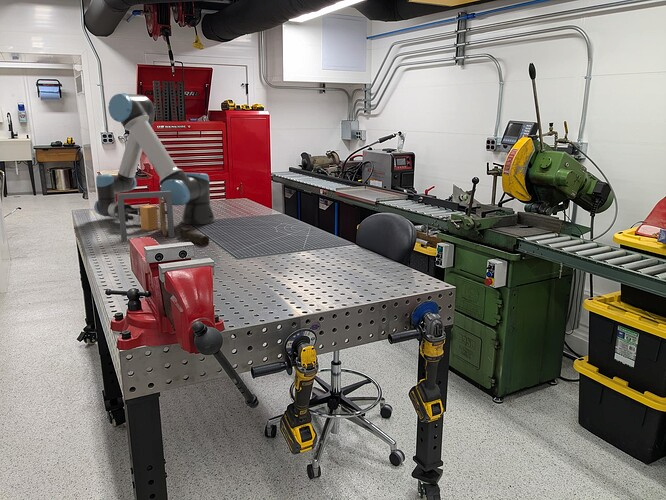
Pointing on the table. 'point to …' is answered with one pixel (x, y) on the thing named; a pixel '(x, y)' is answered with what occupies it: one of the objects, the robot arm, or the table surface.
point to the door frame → (145, 195)
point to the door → (162, 215)
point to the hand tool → (193, 236)
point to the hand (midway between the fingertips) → (152, 216)
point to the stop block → (149, 217)
